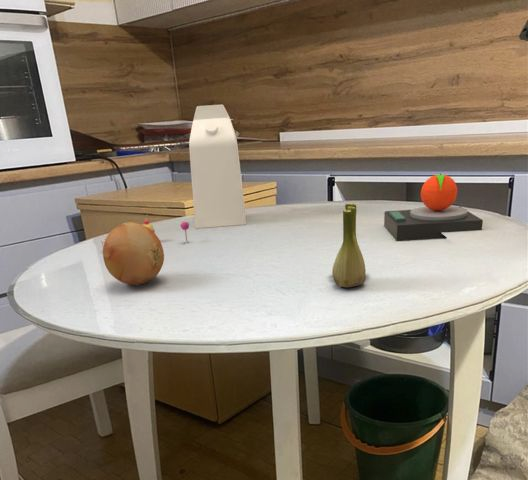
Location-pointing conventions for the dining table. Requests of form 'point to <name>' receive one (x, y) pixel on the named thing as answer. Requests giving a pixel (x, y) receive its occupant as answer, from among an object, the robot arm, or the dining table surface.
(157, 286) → the dining table surface
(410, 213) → the scale
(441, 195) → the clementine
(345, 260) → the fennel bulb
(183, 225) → the candy
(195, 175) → the milk
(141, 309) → the dining table surface
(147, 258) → the onion
